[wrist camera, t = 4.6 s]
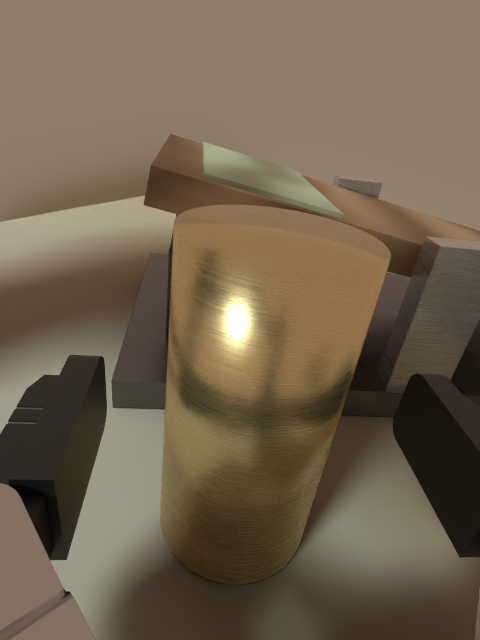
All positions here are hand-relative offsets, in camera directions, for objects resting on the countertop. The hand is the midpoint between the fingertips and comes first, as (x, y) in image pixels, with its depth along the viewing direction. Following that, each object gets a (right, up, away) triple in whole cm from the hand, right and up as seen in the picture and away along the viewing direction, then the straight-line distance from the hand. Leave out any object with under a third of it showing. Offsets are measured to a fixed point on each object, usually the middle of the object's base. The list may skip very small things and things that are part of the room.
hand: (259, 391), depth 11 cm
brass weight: (-1, -5, +4) cm, 6 cm away
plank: (+8, +7, +12) cm, 16 cm away
